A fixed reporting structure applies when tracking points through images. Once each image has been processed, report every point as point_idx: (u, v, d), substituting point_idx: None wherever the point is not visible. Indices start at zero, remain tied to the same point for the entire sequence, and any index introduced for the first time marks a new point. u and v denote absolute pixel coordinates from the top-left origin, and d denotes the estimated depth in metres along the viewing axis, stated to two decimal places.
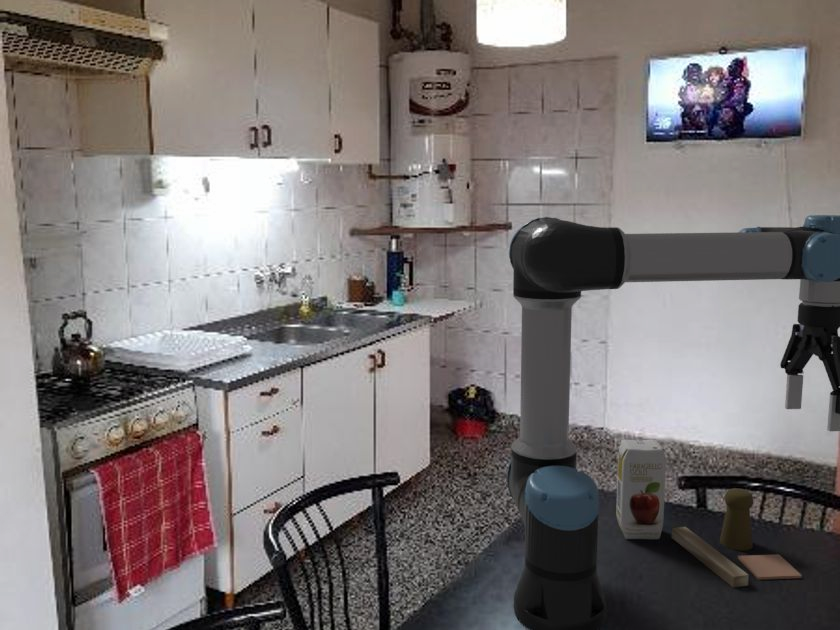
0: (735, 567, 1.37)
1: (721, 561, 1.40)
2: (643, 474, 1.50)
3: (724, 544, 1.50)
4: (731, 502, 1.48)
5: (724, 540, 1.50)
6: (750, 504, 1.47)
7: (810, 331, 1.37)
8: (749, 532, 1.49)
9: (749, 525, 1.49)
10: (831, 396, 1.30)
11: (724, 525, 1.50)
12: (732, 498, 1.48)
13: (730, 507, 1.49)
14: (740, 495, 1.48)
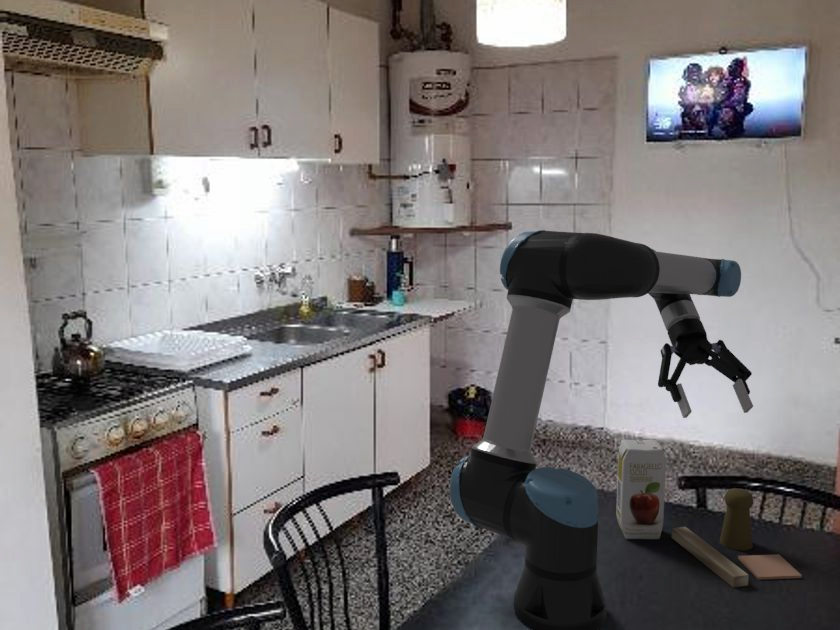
0: (735, 567, 1.37)
1: (721, 561, 1.40)
2: (643, 474, 1.50)
3: (724, 544, 1.50)
4: (731, 502, 1.48)
5: (724, 540, 1.50)
6: (750, 504, 1.47)
7: (689, 343, 1.63)
8: (749, 532, 1.49)
9: (749, 525, 1.49)
10: (740, 380, 1.59)
11: (724, 525, 1.50)
12: (732, 498, 1.48)
13: (730, 507, 1.49)
14: (740, 495, 1.48)
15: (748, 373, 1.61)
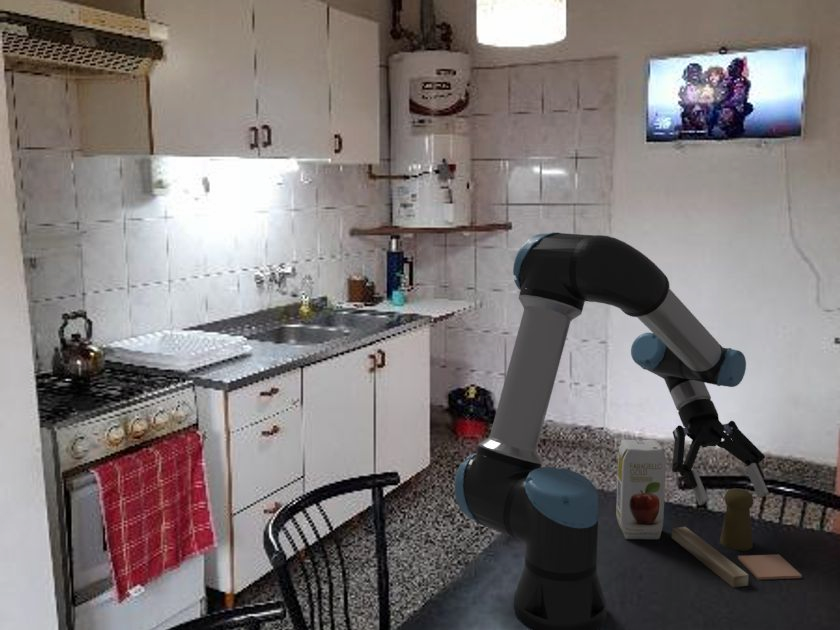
0: (735, 567, 1.37)
1: (721, 561, 1.40)
2: (643, 474, 1.50)
3: (724, 544, 1.50)
4: (731, 502, 1.48)
5: (724, 540, 1.50)
6: (750, 504, 1.47)
7: (701, 425, 1.60)
8: (749, 532, 1.49)
9: (749, 525, 1.49)
10: (754, 464, 1.56)
11: (724, 525, 1.50)
12: (732, 498, 1.48)
13: (730, 507, 1.49)
14: (740, 495, 1.48)
15: (761, 456, 1.58)
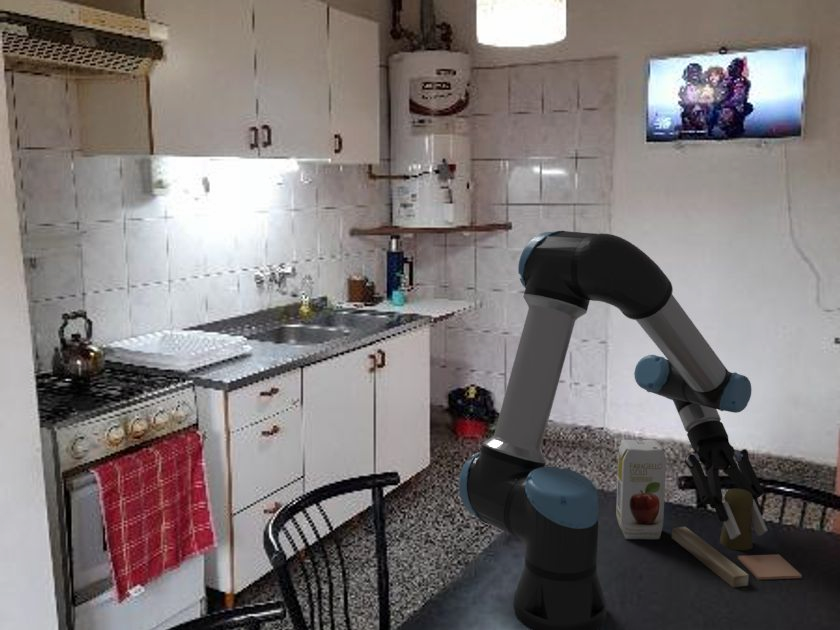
0: (735, 567, 1.37)
1: (721, 561, 1.40)
2: (643, 474, 1.50)
3: (724, 544, 1.50)
4: (731, 502, 1.48)
5: (724, 540, 1.50)
6: (750, 504, 1.47)
7: (707, 444, 1.56)
8: (749, 532, 1.49)
9: (749, 525, 1.49)
10: (753, 500, 1.50)
11: (724, 525, 1.50)
12: (732, 498, 1.48)
13: (730, 507, 1.49)
14: (740, 495, 1.48)
15: (760, 491, 1.51)
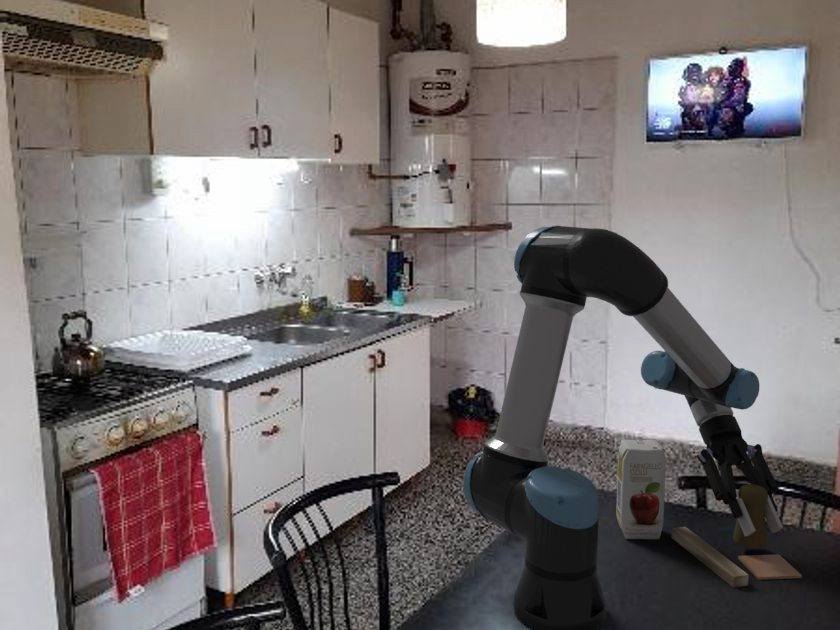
0: (735, 567, 1.37)
1: (721, 561, 1.40)
2: (643, 474, 1.50)
3: (738, 541, 1.46)
4: (745, 499, 1.44)
5: (738, 537, 1.46)
6: (765, 500, 1.44)
7: (720, 439, 1.52)
8: (763, 529, 1.45)
9: (763, 522, 1.45)
10: None
11: (738, 522, 1.47)
12: (746, 494, 1.44)
13: (744, 503, 1.45)
14: (754, 491, 1.44)
15: (774, 487, 1.48)
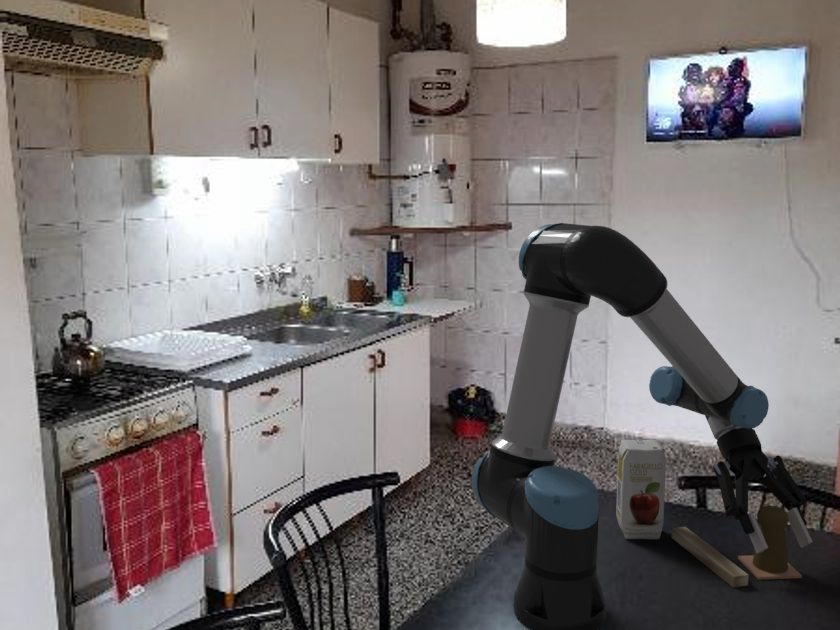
0: (735, 567, 1.37)
1: (721, 561, 1.40)
2: (643, 474, 1.50)
3: (757, 566, 1.40)
4: (765, 521, 1.38)
5: (758, 561, 1.40)
6: (785, 523, 1.38)
7: (741, 454, 1.46)
8: (784, 553, 1.39)
9: (784, 545, 1.39)
10: (796, 509, 1.41)
11: None
12: (766, 517, 1.38)
13: (763, 526, 1.39)
14: (774, 513, 1.38)
15: (803, 500, 1.42)
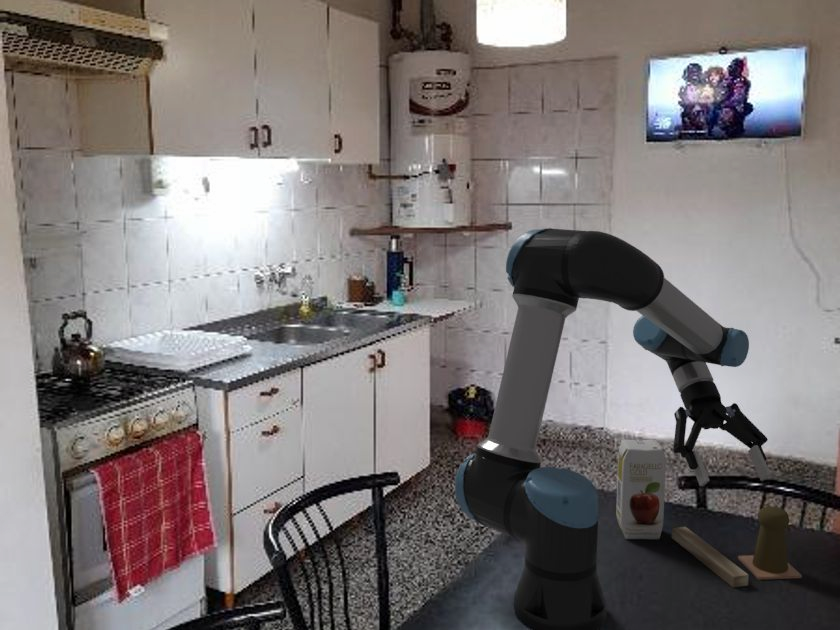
0: (735, 567, 1.37)
1: (721, 561, 1.40)
2: (643, 474, 1.50)
3: (757, 566, 1.40)
4: (766, 522, 1.38)
5: (758, 561, 1.40)
6: (786, 524, 1.38)
7: (703, 407, 1.59)
8: (785, 553, 1.39)
9: (785, 546, 1.39)
10: (757, 447, 1.55)
11: (757, 546, 1.41)
12: (767, 518, 1.38)
13: (764, 527, 1.39)
14: (775, 514, 1.38)
15: (764, 439, 1.56)
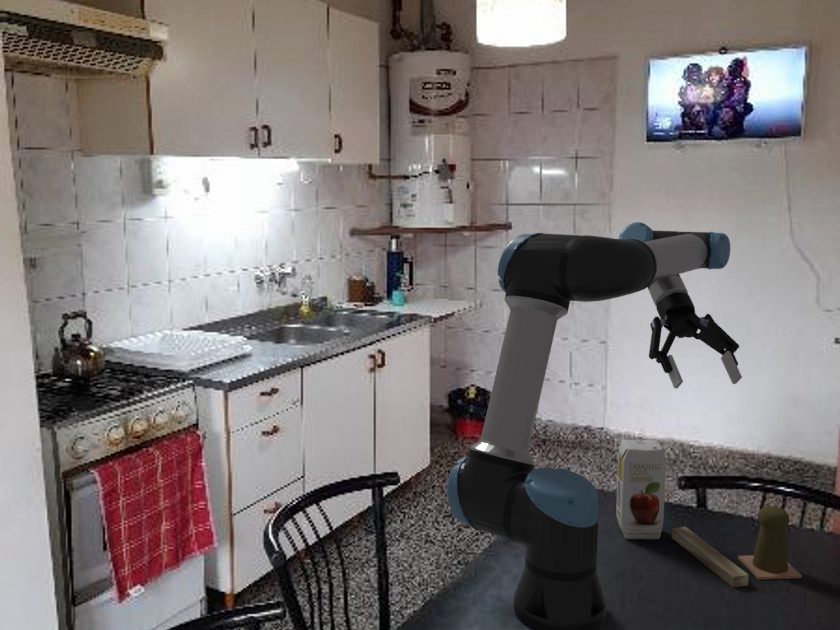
0: (735, 567, 1.37)
1: (721, 561, 1.40)
2: (643, 474, 1.50)
3: (757, 566, 1.40)
4: (766, 522, 1.38)
5: (758, 561, 1.40)
6: (786, 524, 1.38)
7: (678, 317, 1.65)
8: (785, 553, 1.39)
9: (785, 546, 1.39)
10: (729, 352, 1.61)
11: (757, 545, 1.41)
12: (767, 517, 1.38)
13: (764, 526, 1.39)
14: (775, 514, 1.38)
15: (736, 346, 1.63)
